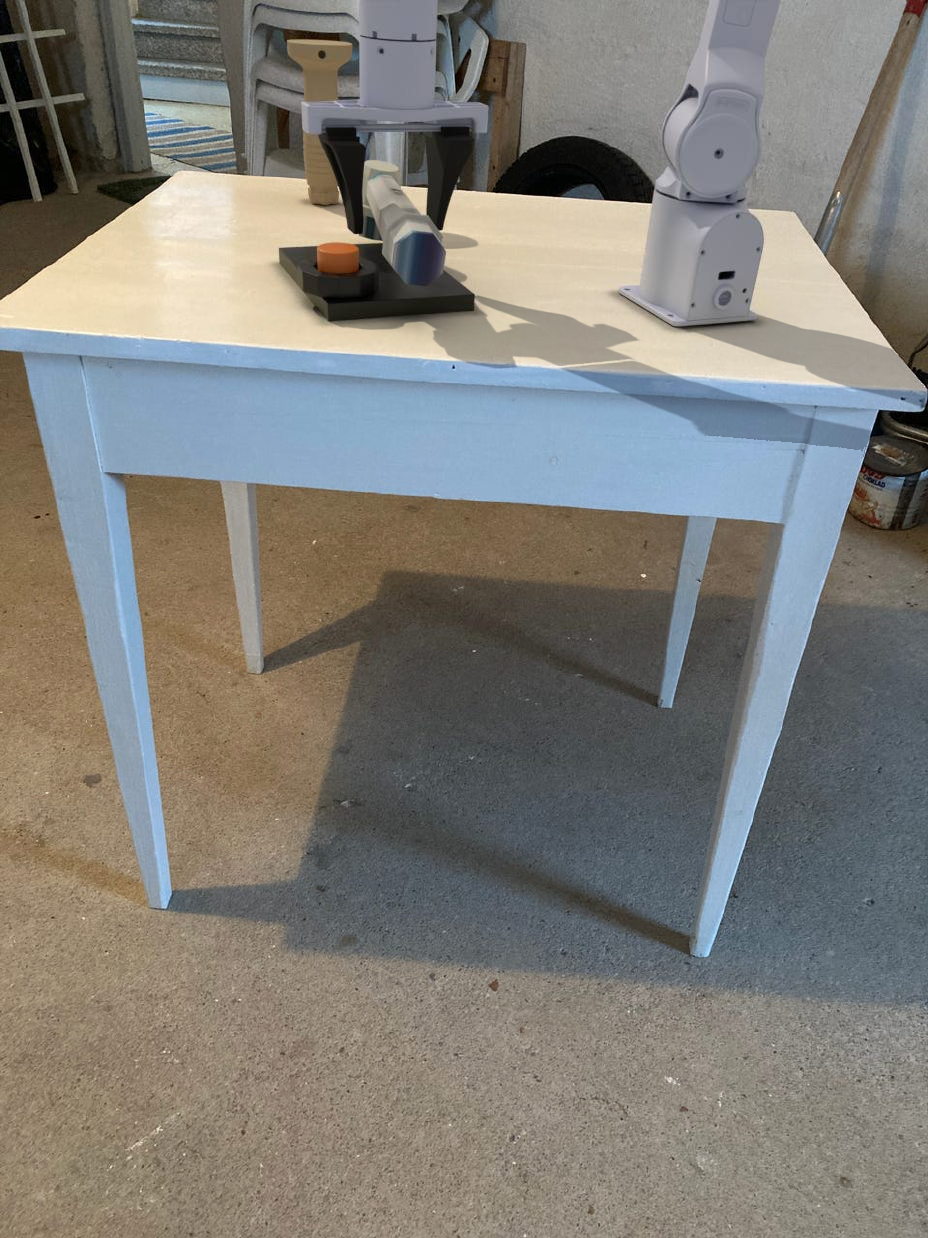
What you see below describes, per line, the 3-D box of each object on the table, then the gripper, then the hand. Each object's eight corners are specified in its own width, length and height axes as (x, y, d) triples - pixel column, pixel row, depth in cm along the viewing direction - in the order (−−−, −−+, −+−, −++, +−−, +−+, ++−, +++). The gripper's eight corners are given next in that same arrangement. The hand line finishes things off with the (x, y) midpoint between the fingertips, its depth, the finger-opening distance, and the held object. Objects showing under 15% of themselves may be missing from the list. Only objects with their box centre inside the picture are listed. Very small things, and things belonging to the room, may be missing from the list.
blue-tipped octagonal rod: (387, 224, 69) (349, 140, 88) (376, 317, 73) (342, 217, 92) (459, 233, 70) (406, 148, 90) (445, 323, 74) (397, 224, 93)
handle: (292, 196, 108) (285, 38, 99) (351, 197, 109) (349, 40, 100) (295, 207, 104) (288, 43, 95) (356, 207, 105) (354, 46, 97)
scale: (474, 311, 79) (476, 273, 77) (314, 323, 74) (313, 283, 73) (408, 257, 91) (408, 222, 89) (267, 264, 86) (265, 228, 85)
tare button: (364, 275, 76) (364, 251, 75) (323, 277, 75) (323, 254, 74) (352, 263, 79) (352, 241, 78) (313, 265, 78) (312, 242, 77)
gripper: (468, 34, 78) (459, 214, 86) (288, 29, 74) (296, 220, 81) (503, 44, 73) (491, 234, 81) (312, 39, 68) (318, 242, 76)
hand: (395, 229), depth 81 cm, fingers open, 6 cm apart
